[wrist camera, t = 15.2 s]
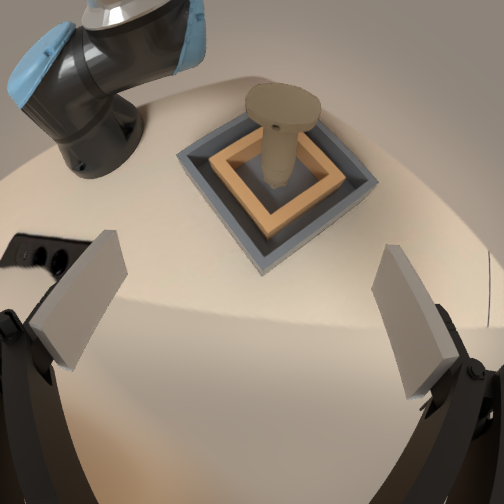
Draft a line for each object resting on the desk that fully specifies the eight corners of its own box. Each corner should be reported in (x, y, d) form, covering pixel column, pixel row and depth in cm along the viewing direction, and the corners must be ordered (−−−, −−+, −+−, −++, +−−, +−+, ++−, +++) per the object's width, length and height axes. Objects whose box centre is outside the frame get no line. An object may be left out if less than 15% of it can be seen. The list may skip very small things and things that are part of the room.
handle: (257, 158, 36) (255, 78, 21) (303, 171, 35) (324, 94, 21) (246, 188, 35) (237, 113, 20) (295, 202, 34) (315, 131, 20)
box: (185, 172, 37) (175, 154, 32) (285, 113, 39) (287, 91, 34) (262, 276, 34) (262, 270, 29) (365, 197, 35) (379, 182, 31)
